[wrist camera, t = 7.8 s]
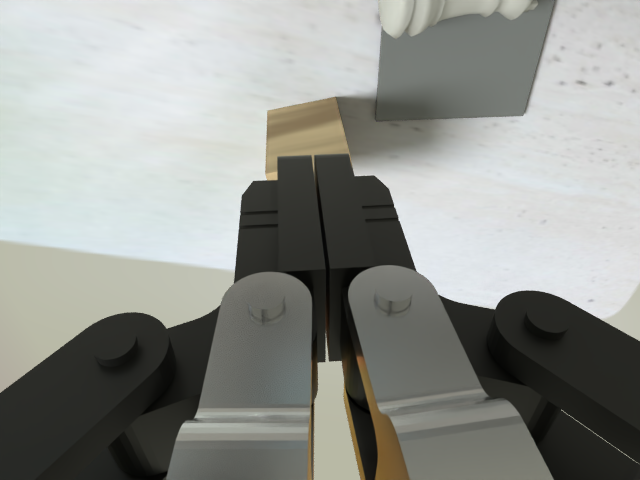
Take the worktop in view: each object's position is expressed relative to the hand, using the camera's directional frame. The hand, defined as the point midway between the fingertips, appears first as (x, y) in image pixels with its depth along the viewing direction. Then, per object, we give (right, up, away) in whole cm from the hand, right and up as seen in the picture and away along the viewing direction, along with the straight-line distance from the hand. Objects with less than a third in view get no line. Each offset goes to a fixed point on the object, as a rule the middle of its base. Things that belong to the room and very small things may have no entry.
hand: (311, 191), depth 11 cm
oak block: (-1, +6, +22) cm, 23 cm away
